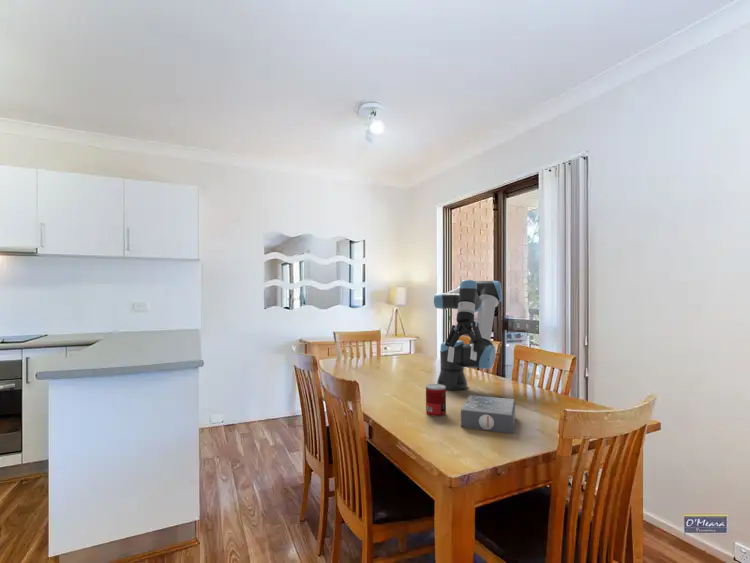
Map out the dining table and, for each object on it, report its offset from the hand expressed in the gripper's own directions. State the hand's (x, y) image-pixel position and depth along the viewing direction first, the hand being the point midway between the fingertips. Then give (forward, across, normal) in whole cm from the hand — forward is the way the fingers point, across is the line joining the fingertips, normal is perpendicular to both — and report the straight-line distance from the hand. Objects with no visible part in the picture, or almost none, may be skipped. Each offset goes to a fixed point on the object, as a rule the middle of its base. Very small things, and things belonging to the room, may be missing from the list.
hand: (461, 360), depth 166 cm
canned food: (+23, -5, -6) cm, 24 cm away
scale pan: (+18, +15, +2) cm, 23 cm away
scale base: (+23, +14, +4) cm, 27 cm away
